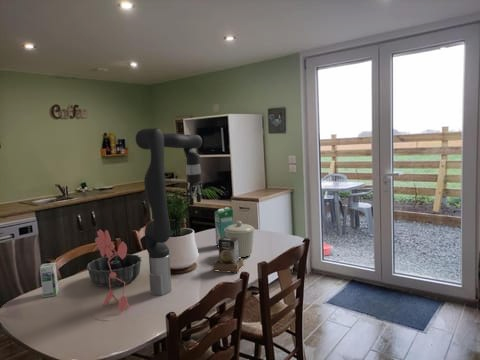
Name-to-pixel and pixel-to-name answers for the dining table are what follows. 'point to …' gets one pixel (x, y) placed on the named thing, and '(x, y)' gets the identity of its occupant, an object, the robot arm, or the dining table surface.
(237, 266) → the walnut crate
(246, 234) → the canister
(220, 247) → the coffee box
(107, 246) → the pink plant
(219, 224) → the milk carton
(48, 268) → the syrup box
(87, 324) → the dining table surface
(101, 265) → the bundt pan
